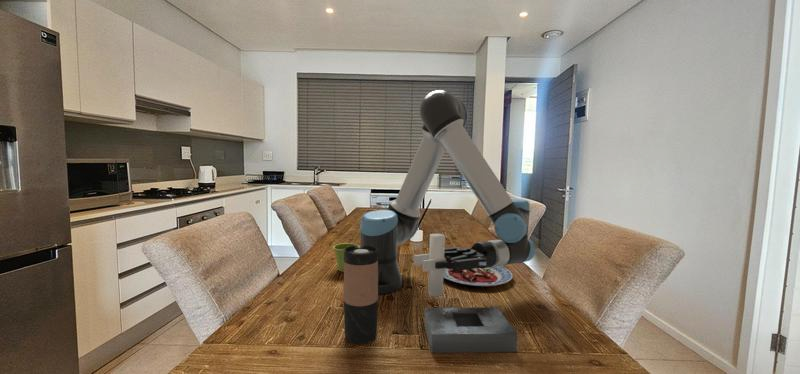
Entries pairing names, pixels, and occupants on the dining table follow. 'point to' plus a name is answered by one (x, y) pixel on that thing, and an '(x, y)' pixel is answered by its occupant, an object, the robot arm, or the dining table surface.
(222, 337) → the dining table surface
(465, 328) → the hole block
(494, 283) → the ceramic plate
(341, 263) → the plant pot
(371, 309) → the travel mug
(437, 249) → the peg
